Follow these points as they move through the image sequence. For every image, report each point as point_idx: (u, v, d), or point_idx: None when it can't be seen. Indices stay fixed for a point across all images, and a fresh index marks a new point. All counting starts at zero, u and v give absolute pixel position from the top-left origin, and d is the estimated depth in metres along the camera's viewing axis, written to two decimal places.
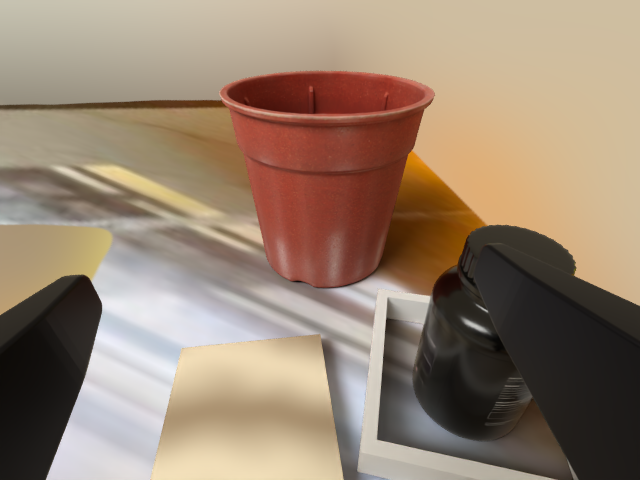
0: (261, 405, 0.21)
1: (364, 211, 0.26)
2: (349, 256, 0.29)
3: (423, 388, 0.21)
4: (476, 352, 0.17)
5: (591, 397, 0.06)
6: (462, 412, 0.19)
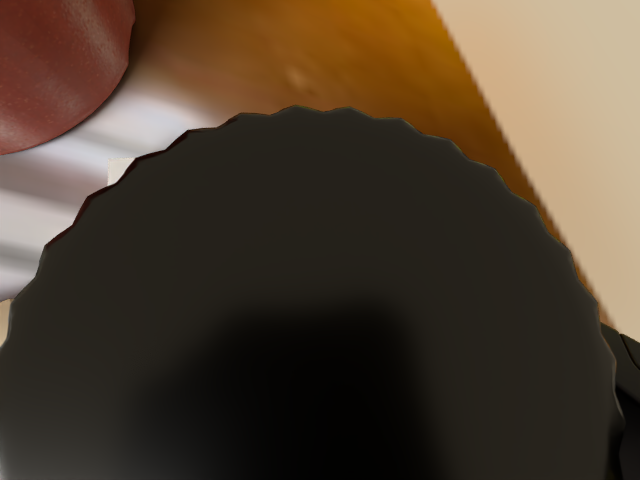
0: None
1: None
2: None
3: None
4: None
5: None
6: None
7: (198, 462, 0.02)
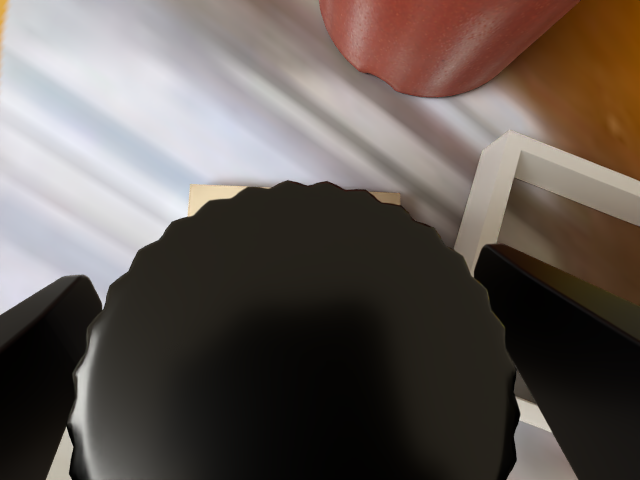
0: None
1: None
2: (485, 56, 0.16)
3: None
4: None
5: (591, 397, 0.06)
6: None
7: (217, 437, 0.03)
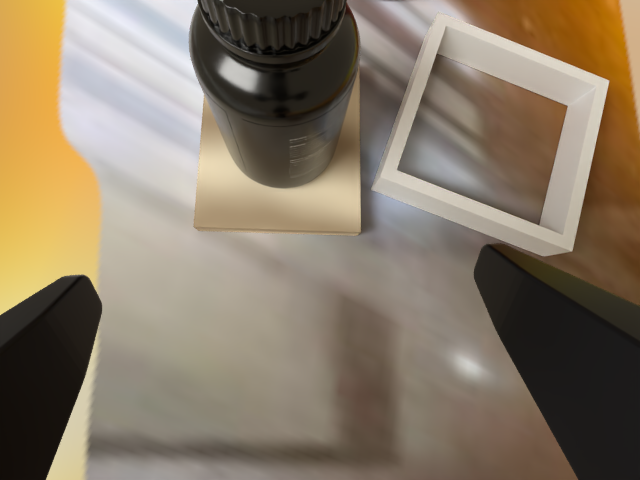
0: None
1: None
2: None
3: (230, 153, 0.19)
4: (245, 121, 0.13)
5: (591, 397, 0.06)
6: (265, 172, 0.18)
7: None
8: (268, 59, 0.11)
